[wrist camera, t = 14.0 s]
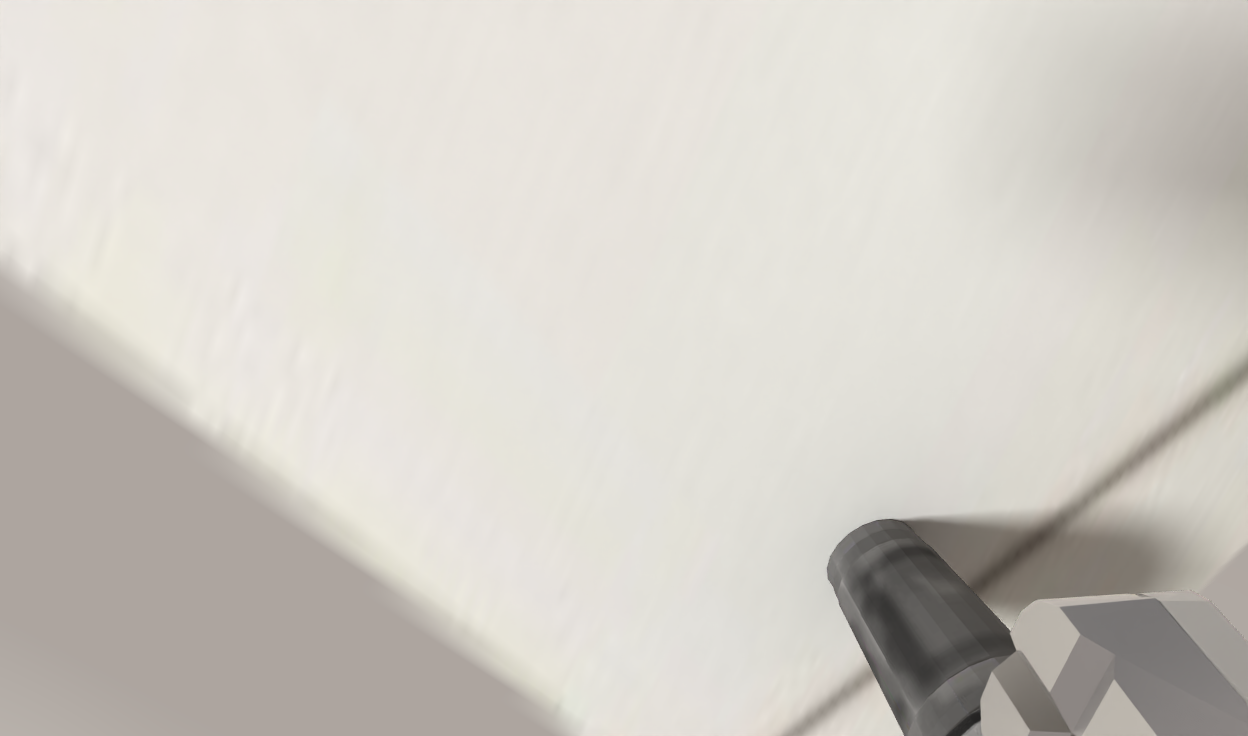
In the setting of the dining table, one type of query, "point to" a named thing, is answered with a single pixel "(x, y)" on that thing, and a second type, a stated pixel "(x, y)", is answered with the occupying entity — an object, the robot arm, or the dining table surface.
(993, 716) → the robot arm
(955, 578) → the beverage cup
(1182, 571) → the dining table surface
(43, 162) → the dining table surface
